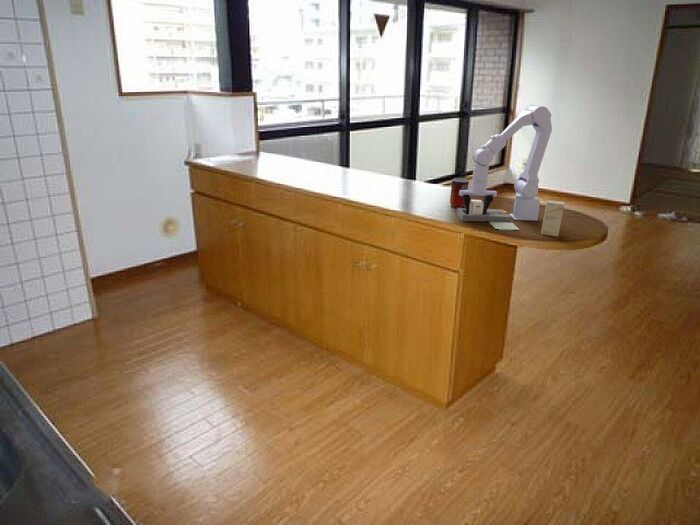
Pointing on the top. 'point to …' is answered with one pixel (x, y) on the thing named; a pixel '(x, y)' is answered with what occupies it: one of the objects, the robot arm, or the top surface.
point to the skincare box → (552, 218)
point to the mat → (504, 226)
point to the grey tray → (484, 215)
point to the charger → (476, 207)
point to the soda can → (455, 189)
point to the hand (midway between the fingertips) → (475, 213)
